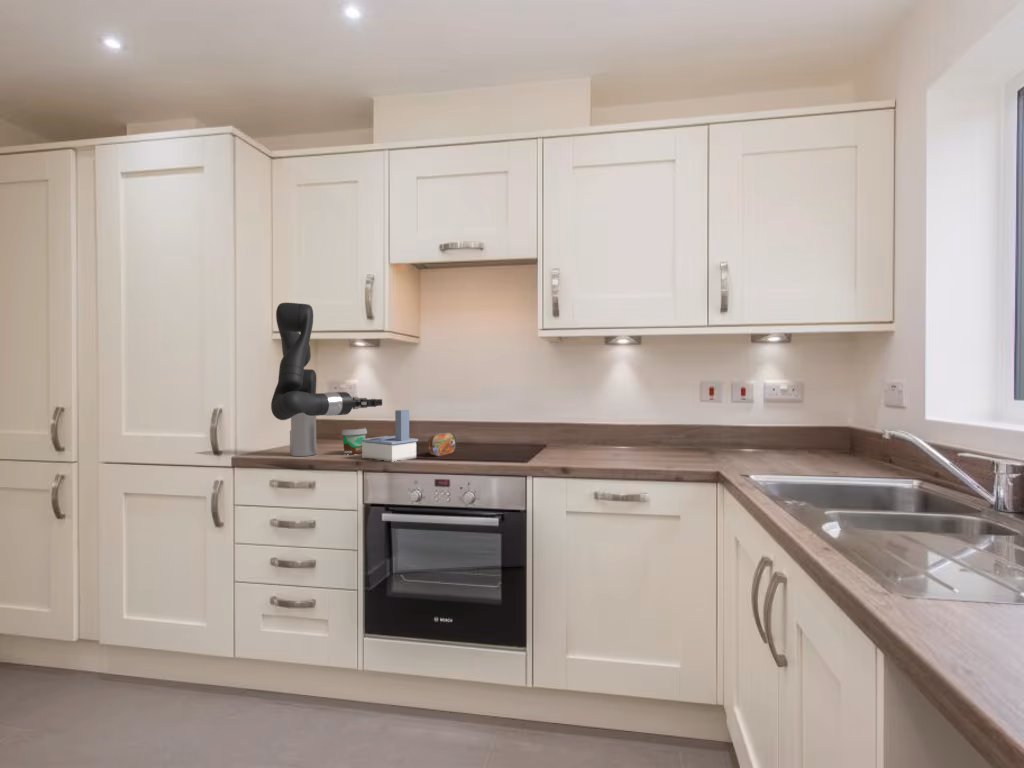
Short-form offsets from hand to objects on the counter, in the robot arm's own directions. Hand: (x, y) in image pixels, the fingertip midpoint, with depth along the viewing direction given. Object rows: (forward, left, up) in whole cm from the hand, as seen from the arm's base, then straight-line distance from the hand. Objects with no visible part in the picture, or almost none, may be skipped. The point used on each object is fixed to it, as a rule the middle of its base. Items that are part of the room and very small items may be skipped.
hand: (373, 402), depth 193 cm
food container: (-25, +13, -22) cm, 35 cm away
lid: (-6, +12, -15) cm, 20 cm away
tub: (-6, +12, -21) cm, 25 cm away
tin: (+4, +30, -22) cm, 38 cm away
